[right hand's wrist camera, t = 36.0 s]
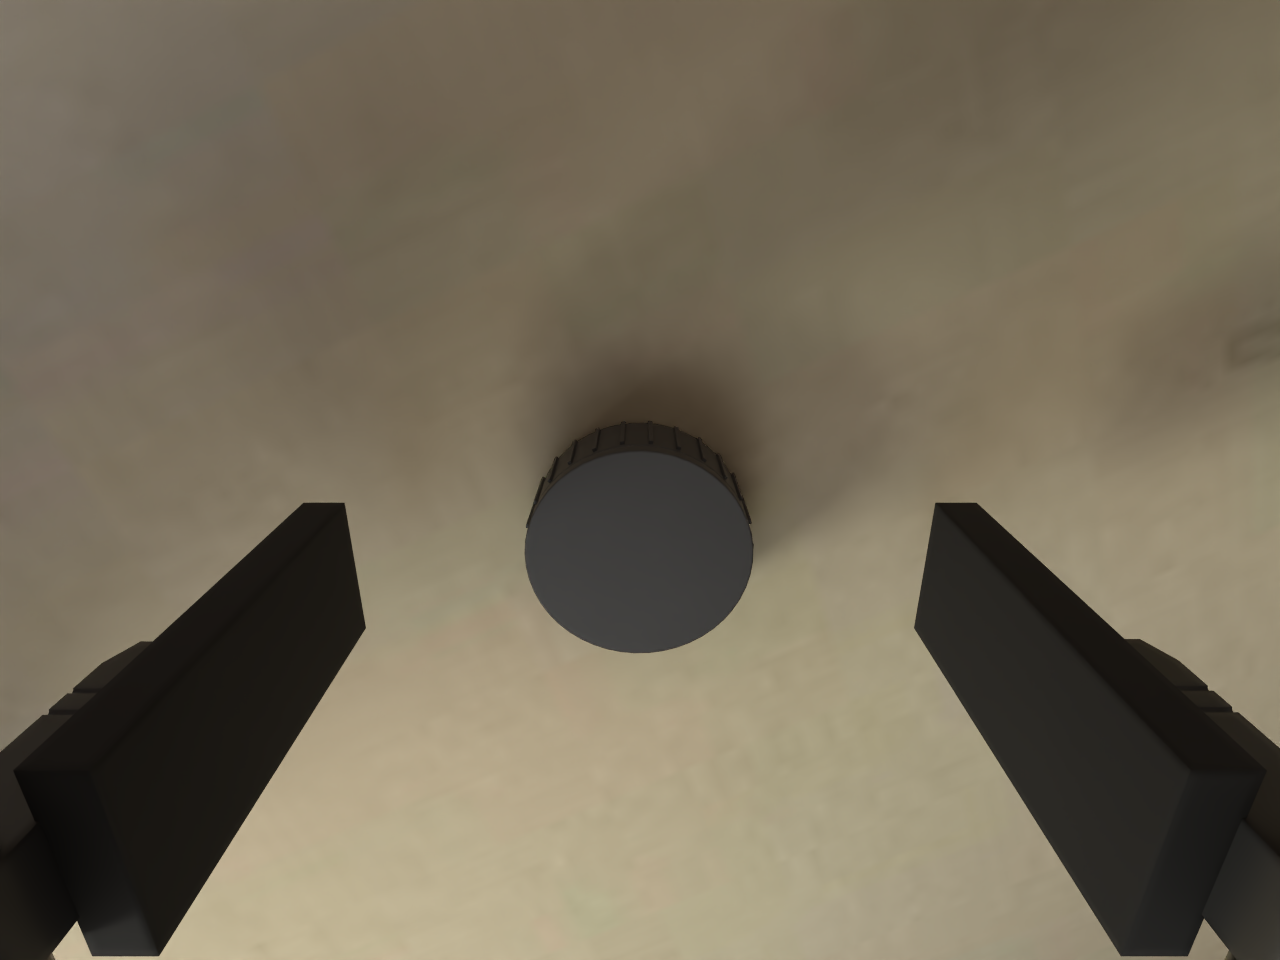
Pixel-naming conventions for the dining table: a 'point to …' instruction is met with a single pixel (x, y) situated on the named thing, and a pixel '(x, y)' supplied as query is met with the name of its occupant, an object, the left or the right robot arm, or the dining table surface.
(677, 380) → the dining table surface
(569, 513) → the cap
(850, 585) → the dining table surface
